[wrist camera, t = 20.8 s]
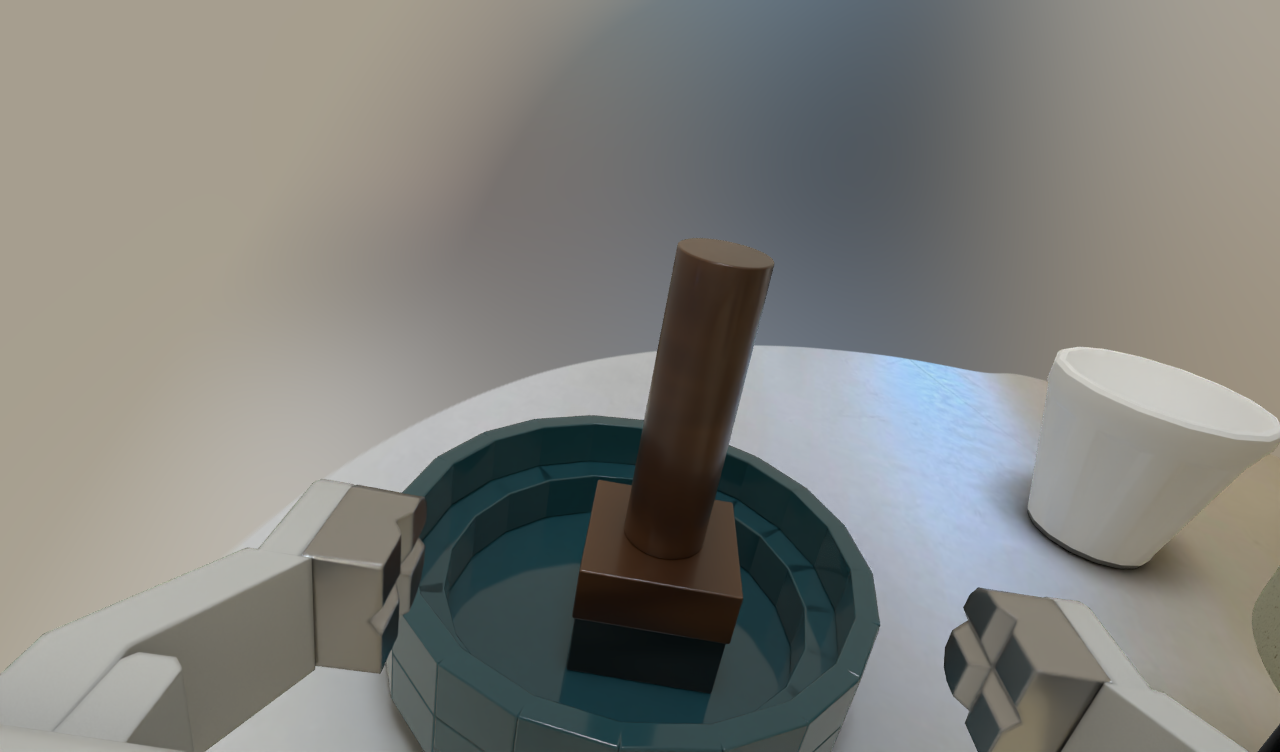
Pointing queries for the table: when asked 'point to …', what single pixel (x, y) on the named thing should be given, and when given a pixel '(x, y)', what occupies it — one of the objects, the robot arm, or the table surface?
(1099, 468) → the cup
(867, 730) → the table surface
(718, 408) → the post on square base
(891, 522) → the table surface
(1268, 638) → the planter
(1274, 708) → the table surface
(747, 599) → the dish
